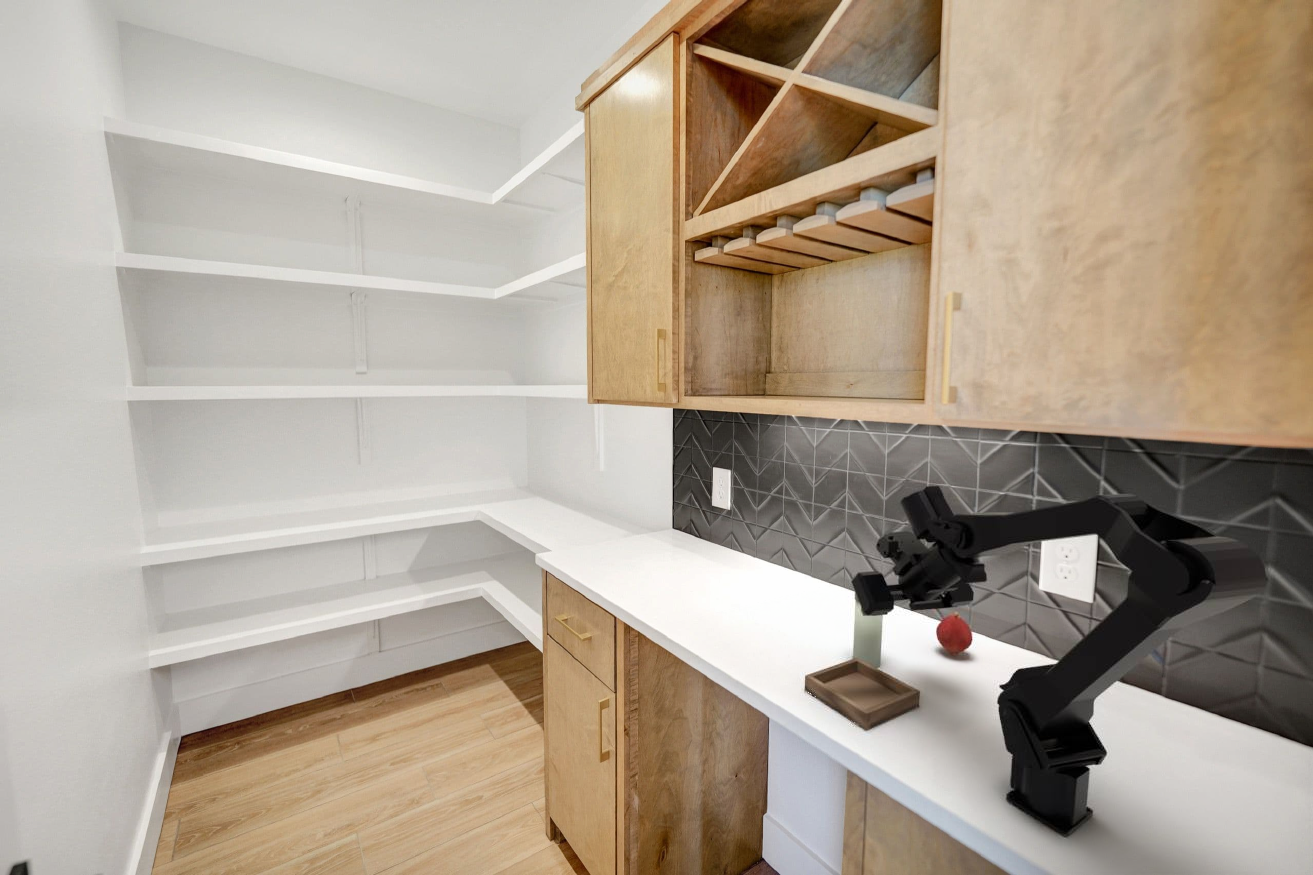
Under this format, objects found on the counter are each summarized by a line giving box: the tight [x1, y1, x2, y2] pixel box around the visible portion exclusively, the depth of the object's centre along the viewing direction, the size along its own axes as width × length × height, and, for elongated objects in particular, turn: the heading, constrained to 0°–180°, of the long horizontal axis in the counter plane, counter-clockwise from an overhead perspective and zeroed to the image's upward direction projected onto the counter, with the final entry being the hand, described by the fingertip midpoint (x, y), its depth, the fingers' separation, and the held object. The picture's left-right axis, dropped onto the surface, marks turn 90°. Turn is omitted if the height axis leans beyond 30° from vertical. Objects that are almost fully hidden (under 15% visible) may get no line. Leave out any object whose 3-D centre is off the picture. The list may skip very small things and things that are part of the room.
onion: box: [935, 612, 973, 656], centre depth 102 cm, size 6×6×8 cm
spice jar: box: [852, 591, 884, 668], centre depth 99 cm, size 5×5×12 cm
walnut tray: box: [804, 658, 921, 731], centre depth 88 cm, size 12×12×2 cm
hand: (887, 610), depth 94 cm, fingers open, 9 cm apart
